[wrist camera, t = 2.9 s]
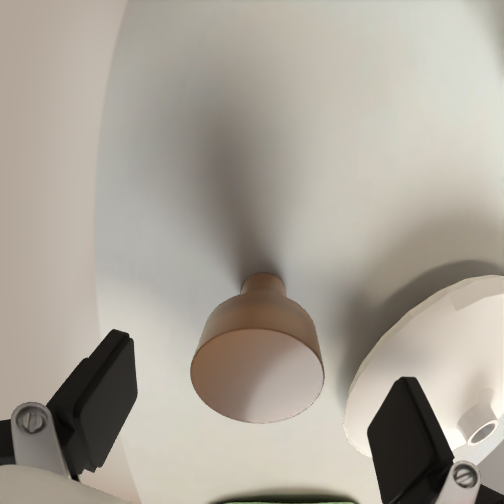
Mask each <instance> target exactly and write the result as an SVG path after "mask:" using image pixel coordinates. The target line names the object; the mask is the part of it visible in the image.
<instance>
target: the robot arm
mask: <svg viewBox="0 0 504 504" xmlns="http://www.w3.org/2000/svg"><path fill="white" fill-rule="evenodd" d="M137 393H138V391H137V381H136V369H135V356H134V341H133V339H132V338H130V337H129V334H128V333H126V332H122V331H119V330H115V329H112V330H111V331H110V332H109V334H108V335H107V336H106V337H105V338H104V340H103V341H102V342H101V343H100V344H99V346H98V347H97V348H96V349H95V350H94V352H93V353H92V354H91V355H90V356H89V358H85V359H83V360H82V361H81V362H80V363H79V365H78V366H77V367H76V368H75V369H74V371H73V372H72V373H71V375H70V376H69V377H68V378H67V379H66V381H65V382H64V383H63V384H62V386H61V387H60V388H59V390H58V391H57V392H56V393H55V394H54V396H53V397H52V398H51V400H50V401H49V402H48V403H47V405H46V406H44V405H42V404H40V403H37V402H27V403H23V404H21V405H19V406H18V407H17V408H16V409H15V410H14V411H13V413H12V415H11V419H9V420H2V421H0V504H137V503H134V502H131V501H128V500H124V499H122V498H119V497H116V496H113V495H110V494H108V493H105V492H103V491H100V490H98V489H95V488H93V487H90V486H87V485H85V484H83V483H82V481H81V478H80V474H82V471H83V470H84V469H86V470H88V471H91V472H93V473H94V472H95V470H96V468H97V467H99V468H100V467H102V466H103V464H104V462H105V460H106V458H107V456H108V454H109V452H110V450H111V448H112V446H113V444H114V442H115V440H116V438H117V436H118V434H119V432H120V430H121V428H122V426H123V424H124V422H125V420H126V418H127V416H128V414H129V413H130V411H131V409H132V407H133V405H134V403H135V401H136V398H137ZM367 437H368V441H369V446H370V450H371V454H372V458H373V462H374V467H375V471H376V476H377V480H378V485H379V490H380V494H381V499H382V503H383V504H504V495H502V494H500V493H498V492H496V491H494V490H492V489H489V488H488V487H486V486H484V485H482V484H480V483H481V474H480V471H479V469H478V468H477V467H476V466H475V465H474V464H472V463H471V462H468V461H458V462H456V463H455V464H454V463H453V461H452V460H453V459H454V458H455V457H454V455H453V453H452V451H451V448H450V446H449V444H448V441H447V439H446V437H445V435H444V433H443V430H442V428H441V426H440V424H439V422H438V420H437V418H436V416H435V414H434V411H433V409H432V407H431V405H430V403H429V401H428V399H427V397H426V395H425V393H424V391H423V389H422V387H421V385H420V383H419V382H418V380H417V378H416V377H404V376H402V377H400V378H399V379H398V380H396V381H395V382H394V383H393V385H392V387H391V389H390V391H389V393H388V394H387V396H386V398H385V400H384V401H383V403H382V405H381V407H380V408H379V410H378V412H377V413H376V415H375V417H374V418H373V420H372V421H371V423H370V425H369V426H368V429H367Z"/></svg>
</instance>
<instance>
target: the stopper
mask: <svg viewBox="0 0 504 504" xmlns="http://www.w3.org/2000/svg"><path fill="white" fill-rule="evenodd" d="M190 375H191V381H192V384H193V387H194V389H195V391H196V393H197V394H198V396H199V397H200V398H201V400H202V401H203V402H204V403H205V404H206V405H208V406H209V407H210V408H211V409H213V410H214V411H216V412H218V413H220V414H221V415H223V416H226V417H228V418H231V419H234V420H238V421H242V422H247V423H272V422H278V421H282V420H286V419H289V418H291V417H294V416H296V415H298V414H300V413H301V412H303V411H304V410H306V409H307V408H308V407H309V406H311V405H312V404H313V402H314V401H315V400H316V399H317V397H318V396H319V394H320V392H321V390H322V387H323V384H324V378H325V376H324V367H323V362H322V357H321V352H320V347H319V342H318V337H317V332H316V328H315V325H314V323H313V320H312V319H311V317H310V316H309V314H308V313H307V312H306V311H305V310H304V309H303V308H302V307H301V306H300V305H299V304H297V303H296V302H294V301H292V300H290V299H288V298H287V294H286V288H285V285H284V283H283V282H282V281H281V280H280V279H279V278H278V277H277V276H275V275H273V274H270V273H257V274H254V275H252V276H250V277H249V278H248V279H247V280H246V281H245V282H244V284H243V286H242V289H241V294H240V295H237V296H234V297H232V298H230V299H228V300H226V301H224V302H223V303H221V304H220V305H219V306H218V307H217V308H216V309H215V310H214V311H213V312H212V313H211V315H210V316H209V318H208V320H207V322H206V325H205V327H204V330H203V333H202V335H201V338H200V341H199V344H198V346H197V349H196V352H195V354H194V357H193V360H192V363H191V369H190Z"/></svg>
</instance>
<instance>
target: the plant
mask: <svg viewBox="0 0 504 504" xmlns="http://www.w3.org/2000/svg"><path fill="white" fill-rule="evenodd" d="M225 504H355V503H350V502H329V503H263V502H236V503H225Z"/></svg>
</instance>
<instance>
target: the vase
mask: <svg viewBox="0 0 504 504" xmlns="http://www.w3.org/2000/svg"><path fill="white" fill-rule="evenodd" d="M402 376H404V377H416V378H417V380H418V382H419V383H420V385H421V387H422V389H423V391H424V393H425V395H426V397H427V399H428V401H429V403H430V405H431V407H432V409H433V411H434V414H435V416H436V418H437V420H438V422H439V424H440V426H441V428H442V430H443V433H444V435H445V437H446V439H447V441H448V444H449V446H450V448H451V451H452V450H454V449H456V448H458V447H460V446H462V445H463V444H465V443H467V445H469V446H473V445H476V444H479V443H480V442H482V441H484V440H485V439H486V438H488V437H489V436H490V435H491V434H492V433H493V432H494V431H495V430H496V428H497V426H498V424H499V421H498V418H499V417H500V416H501V415H502V414H503V413H504V276H498V275H486V276H479V277H472V278H467V279H464V280H462V281H460V282H458V283H455V284H453V285H451V286H448V287H446V288H444V289H441V290H439V291H437V292H436V293H435V294H433V295H432V296H430V297H429V298H427V299H426V300H424V301H423V302H422V303H420V304H419V305H417V306H416V307H414V308H413V309H411V310H409V311H408V312H407V313H406V314H405V315H404V316H403V317H402V318H401V319H400V320H399V321H398V322H397V323H396V324H395V325H394V326H393V327H392V328H390V329H389V330H388V331H387V332H386V333H385V334H384V335H383V336H382V337H381V338H380V340H379V341H378V342H377V344H376V345H375V346H374V348H373V349H372V350H371V352H370V353H369V354H368V355H367V357H366V358H365V359H364V361H363V362H362V363H361V365H360V367H359V369H358V372H357V374H356V376H355V378H354V380H353V382H352V384H351V386H350V388H349V393H348V398H347V403H346V409H345V415H344V421H343V425H344V429H345V432H346V436H347V440H348V441H349V442H350V443H351V444H352V445H353V446H354V447H355V449H356V450H357V451H358V452H360V453H362V454H364V455H366V456H368V457H371V458H372V454H371V450H370V446H369V441H368V437H367V429H368V426H369V425H370V423H371V421H372V420H373V418H374V417H375V415H376V413H377V412H378V410H379V408H380V407H381V405H382V403H383V401H384V400H385V398H386V396H387V394H388V393H389V391H390V389H391V387H392V385H393V383H394V382H395V381H396V380H398V379H399V378H400V377H402Z"/></svg>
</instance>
